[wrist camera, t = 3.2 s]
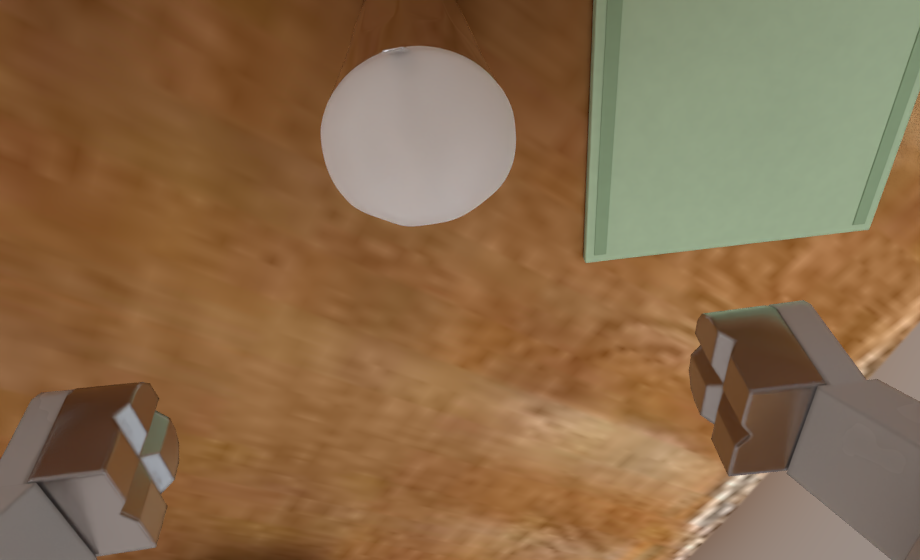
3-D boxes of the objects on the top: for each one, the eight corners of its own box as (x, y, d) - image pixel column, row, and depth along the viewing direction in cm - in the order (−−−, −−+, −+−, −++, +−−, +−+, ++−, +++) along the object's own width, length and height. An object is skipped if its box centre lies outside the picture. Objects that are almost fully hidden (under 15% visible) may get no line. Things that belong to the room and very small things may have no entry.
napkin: (600, -200, 19) (605, -198, 19) (1032, -248, 19) (1044, -247, 19) (583, 257, 29) (585, 264, 29) (864, 224, 30) (870, 230, 29)
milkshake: (466, -96, 20) (516, 27, 13) (487, 76, 24) (536, 254, 16) (314, -68, 21) (273, 69, 13) (356, 99, 24) (344, 285, 16)
